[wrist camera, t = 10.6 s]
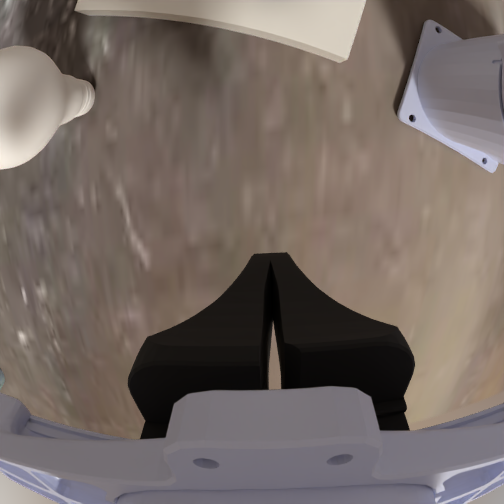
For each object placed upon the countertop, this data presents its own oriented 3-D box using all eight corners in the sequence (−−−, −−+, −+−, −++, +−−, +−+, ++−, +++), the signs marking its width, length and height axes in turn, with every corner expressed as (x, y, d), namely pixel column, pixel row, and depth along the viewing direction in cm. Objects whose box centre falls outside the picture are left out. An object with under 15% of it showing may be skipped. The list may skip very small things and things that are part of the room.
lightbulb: (53, 62, 16) (-65, 66, 6) (127, 49, 16) (13, 25, 6) (52, 142, 19) (-61, 188, 9) (123, 138, 19) (12, 184, 9)
